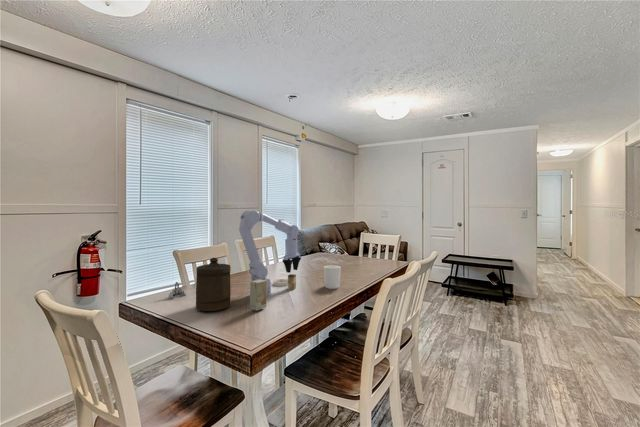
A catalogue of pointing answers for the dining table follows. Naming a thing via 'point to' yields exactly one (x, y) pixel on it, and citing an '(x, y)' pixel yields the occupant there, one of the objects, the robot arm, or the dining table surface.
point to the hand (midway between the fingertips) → (292, 271)
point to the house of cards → (176, 292)
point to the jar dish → (280, 282)
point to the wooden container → (213, 286)
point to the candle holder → (332, 276)
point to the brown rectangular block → (291, 282)
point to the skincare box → (257, 294)
